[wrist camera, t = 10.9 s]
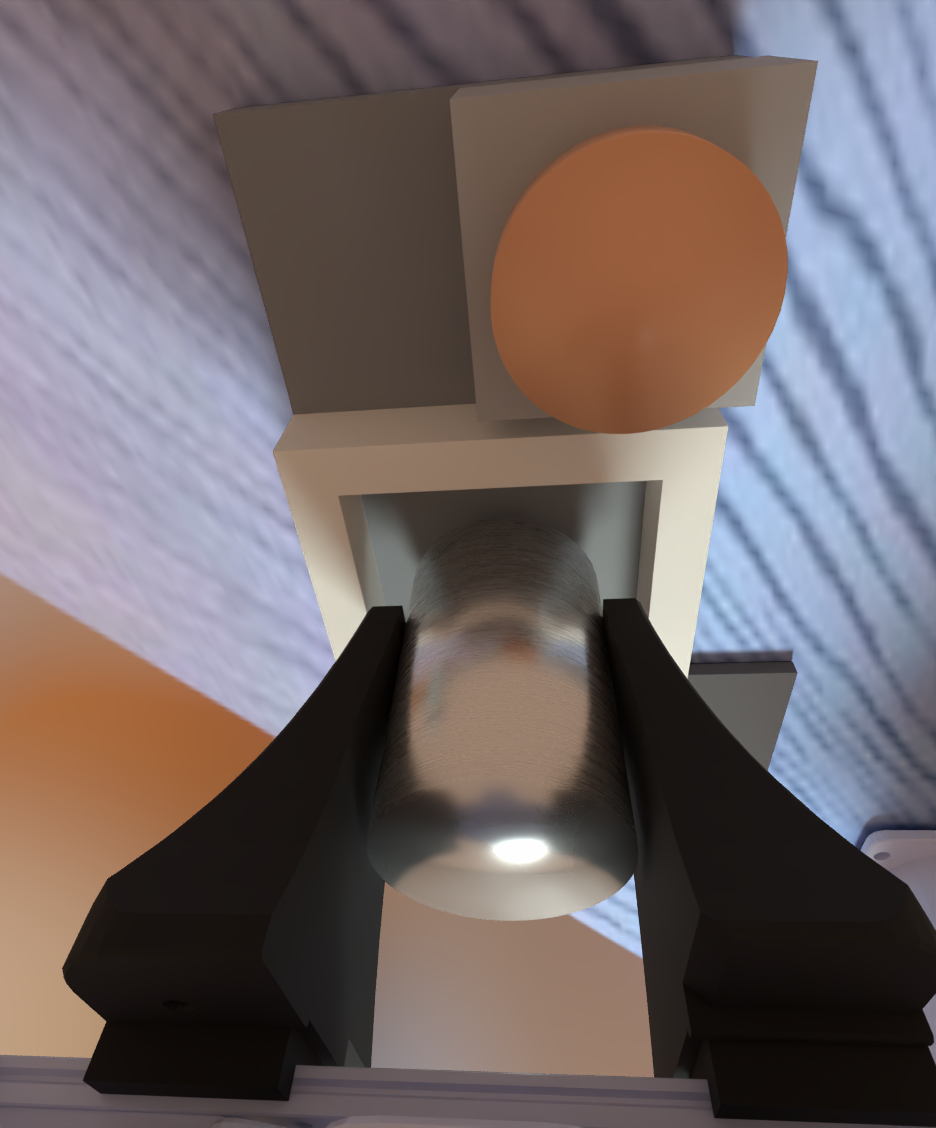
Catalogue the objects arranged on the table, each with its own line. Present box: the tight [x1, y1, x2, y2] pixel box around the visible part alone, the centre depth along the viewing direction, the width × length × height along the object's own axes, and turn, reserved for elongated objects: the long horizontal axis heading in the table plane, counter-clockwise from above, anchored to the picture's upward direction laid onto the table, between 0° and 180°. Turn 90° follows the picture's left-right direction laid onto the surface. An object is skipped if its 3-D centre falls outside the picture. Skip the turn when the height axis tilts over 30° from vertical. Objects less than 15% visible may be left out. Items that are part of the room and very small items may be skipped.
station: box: [213, 55, 818, 679], centre depth 14 cm, size 13×8×3 cm, turn 5°
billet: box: [367, 518, 639, 921], centre depth 12 cm, size 4×4×6 cm
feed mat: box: [688, 662, 797, 771], centre depth 21 cm, size 7×7×1 cm
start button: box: [491, 125, 788, 434], centre depth 10 cm, size 4×4×3 cm
